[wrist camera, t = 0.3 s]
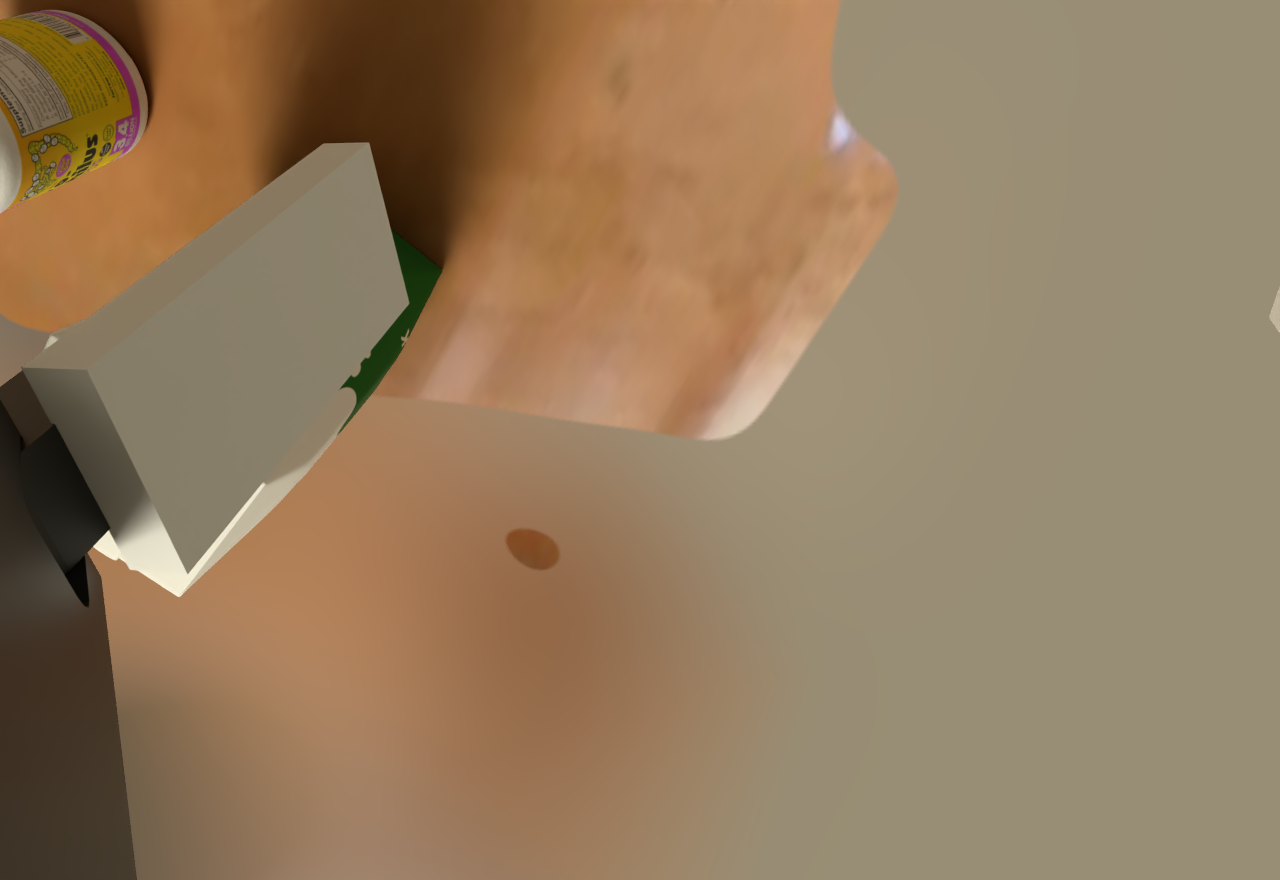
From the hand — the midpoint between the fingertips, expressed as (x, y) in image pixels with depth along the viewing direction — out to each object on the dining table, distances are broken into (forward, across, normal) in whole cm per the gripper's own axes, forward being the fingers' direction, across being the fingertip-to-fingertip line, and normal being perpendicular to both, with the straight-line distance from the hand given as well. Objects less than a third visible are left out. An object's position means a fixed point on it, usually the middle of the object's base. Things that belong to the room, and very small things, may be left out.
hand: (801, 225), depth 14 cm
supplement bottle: (+26, -34, -4) cm, 43 cm away
